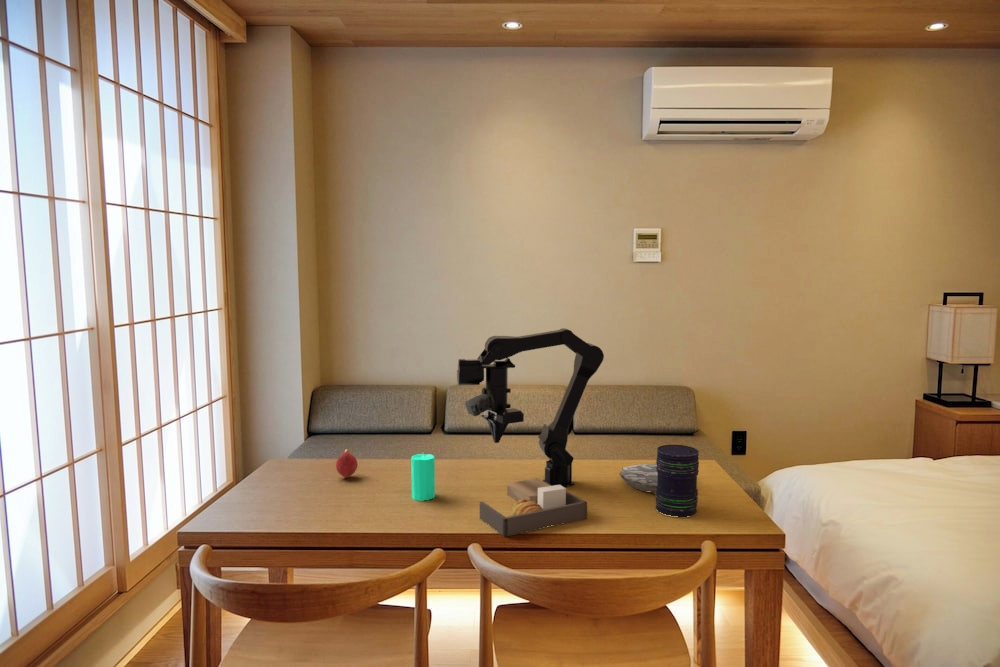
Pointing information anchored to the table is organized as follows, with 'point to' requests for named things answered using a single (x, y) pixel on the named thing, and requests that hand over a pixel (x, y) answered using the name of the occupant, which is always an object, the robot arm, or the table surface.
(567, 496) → the frame
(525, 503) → the pastry
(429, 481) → the candle
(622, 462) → the table surface
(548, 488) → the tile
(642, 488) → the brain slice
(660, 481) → the storage jar
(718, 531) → the table surface
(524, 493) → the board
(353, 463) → the onion
